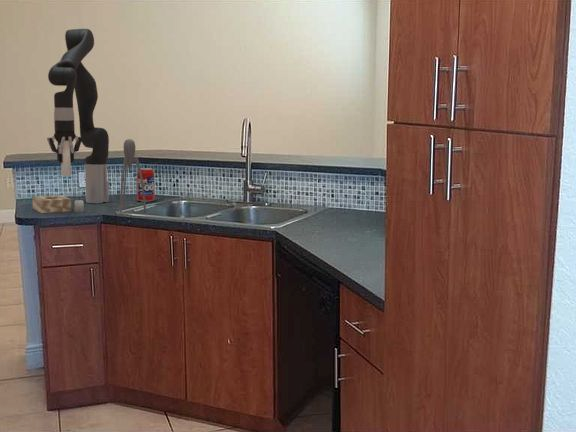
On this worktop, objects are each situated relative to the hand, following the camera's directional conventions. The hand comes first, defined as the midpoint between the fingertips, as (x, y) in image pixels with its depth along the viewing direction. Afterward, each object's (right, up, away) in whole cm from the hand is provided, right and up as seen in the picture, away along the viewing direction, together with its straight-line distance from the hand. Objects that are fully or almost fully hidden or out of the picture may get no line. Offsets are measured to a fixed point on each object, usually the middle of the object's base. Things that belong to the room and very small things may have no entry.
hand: (65, 162), depth 284 cm
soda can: (+23, -15, +43) cm, 51 cm away
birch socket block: (-9, -19, +12) cm, 24 cm away
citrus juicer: (+22, -20, +13) cm, 32 cm away
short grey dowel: (+2, -19, +10) cm, 22 cm away
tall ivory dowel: (0, -5, +1) cm, 5 cm away
